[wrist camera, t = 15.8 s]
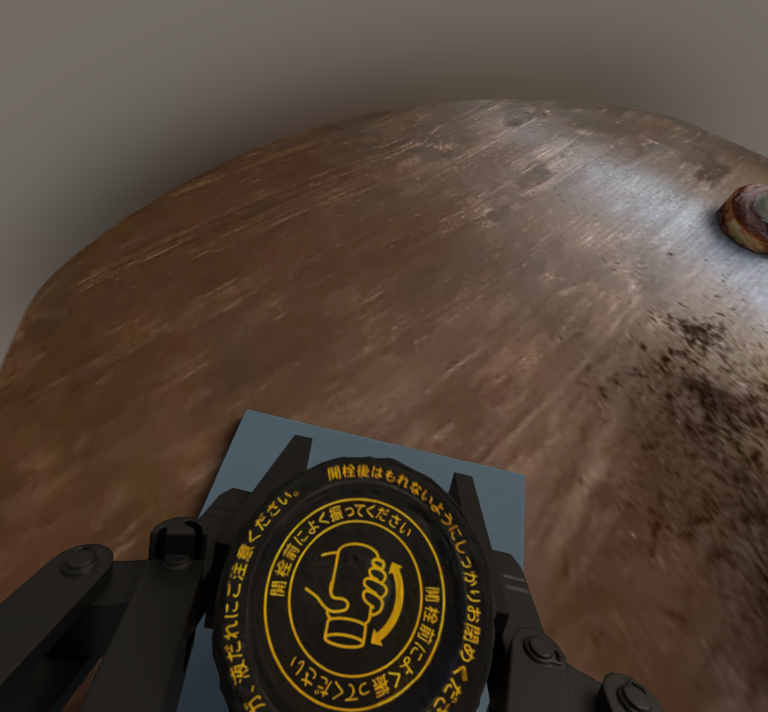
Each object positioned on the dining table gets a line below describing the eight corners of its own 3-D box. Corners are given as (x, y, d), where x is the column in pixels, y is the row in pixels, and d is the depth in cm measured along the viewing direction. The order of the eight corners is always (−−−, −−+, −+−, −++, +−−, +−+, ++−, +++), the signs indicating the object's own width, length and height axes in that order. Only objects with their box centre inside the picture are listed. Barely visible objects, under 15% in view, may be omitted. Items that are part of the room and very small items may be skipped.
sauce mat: (107, 738, 15) (97, 745, 14) (248, 414, 22) (245, 408, 22) (512, 847, 15) (520, 859, 14) (519, 478, 22) (525, 474, 21)
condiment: (249, 557, 17) (117, 504, 7) (409, 470, 20) (477, 343, 10) (314, 752, 14) (243, 1135, 4) (493, 618, 17) (715, 653, 7)
